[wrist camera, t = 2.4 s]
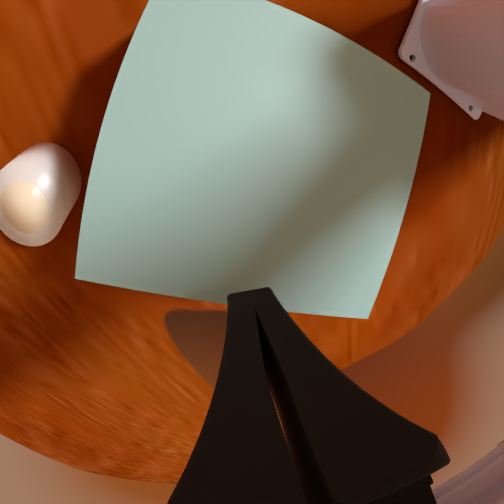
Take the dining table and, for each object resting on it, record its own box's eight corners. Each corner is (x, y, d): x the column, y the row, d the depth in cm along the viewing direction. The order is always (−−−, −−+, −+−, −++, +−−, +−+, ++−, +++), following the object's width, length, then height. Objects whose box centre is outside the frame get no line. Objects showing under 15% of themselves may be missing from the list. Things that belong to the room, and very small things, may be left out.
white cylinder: (86, 148, 15) (66, 171, 13) (78, 220, 18) (62, 254, 15) (17, 137, 14) (-13, 158, 11) (15, 208, 16) (-8, 238, 13)
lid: (413, 95, 12) (430, 93, 11) (353, 308, 15) (367, 318, 14) (162, -13, 8) (164, -28, 7) (81, 267, 10) (74, 278, 9)
